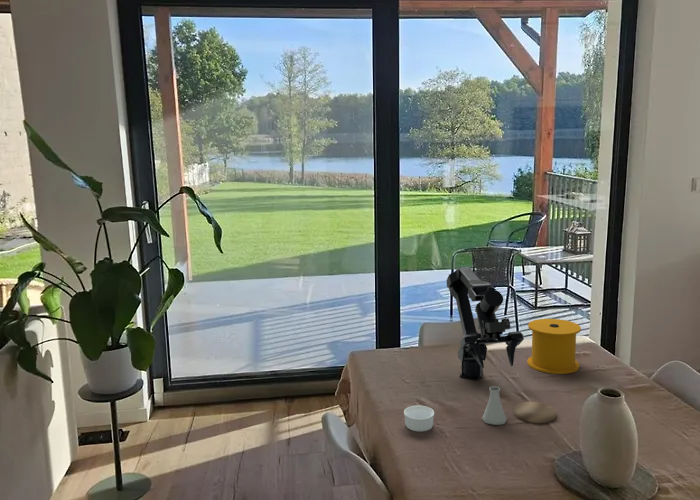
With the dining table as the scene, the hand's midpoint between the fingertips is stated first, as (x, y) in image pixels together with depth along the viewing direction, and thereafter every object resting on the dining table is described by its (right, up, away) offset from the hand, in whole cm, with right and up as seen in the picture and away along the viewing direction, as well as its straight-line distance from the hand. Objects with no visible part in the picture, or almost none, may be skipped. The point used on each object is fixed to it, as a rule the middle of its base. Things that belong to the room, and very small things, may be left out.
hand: (497, 366), depth 177 cm
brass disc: (+11, -14, -3) cm, 17 cm away
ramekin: (-25, -16, -7) cm, 30 cm away
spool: (+29, -7, +35) cm, 46 cm away
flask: (-2, -15, -6) cm, 16 cm away
